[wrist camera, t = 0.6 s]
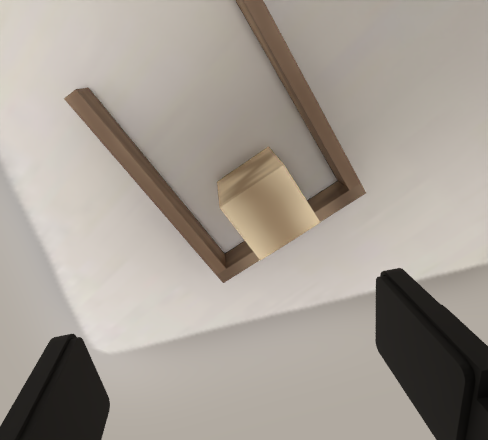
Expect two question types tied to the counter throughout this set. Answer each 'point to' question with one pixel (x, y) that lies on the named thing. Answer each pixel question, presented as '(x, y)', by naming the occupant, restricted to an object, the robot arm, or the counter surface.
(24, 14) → the counter surface
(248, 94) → the counter surface
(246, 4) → the bay
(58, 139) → the counter surface
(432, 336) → the robot arm
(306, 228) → the light wooden block
